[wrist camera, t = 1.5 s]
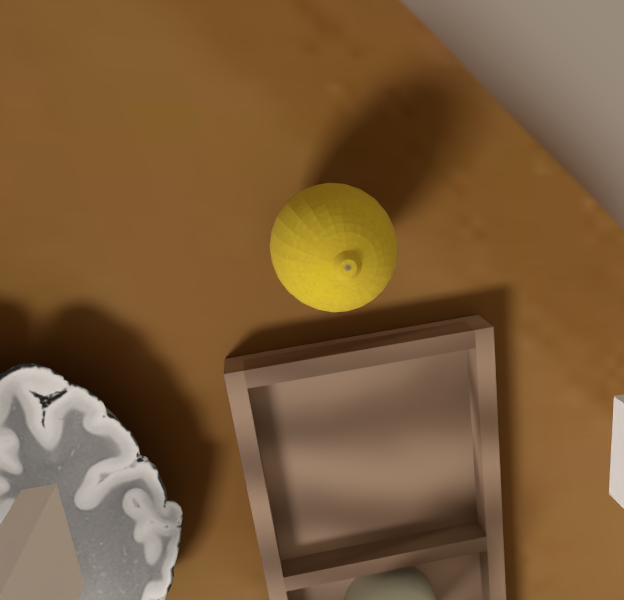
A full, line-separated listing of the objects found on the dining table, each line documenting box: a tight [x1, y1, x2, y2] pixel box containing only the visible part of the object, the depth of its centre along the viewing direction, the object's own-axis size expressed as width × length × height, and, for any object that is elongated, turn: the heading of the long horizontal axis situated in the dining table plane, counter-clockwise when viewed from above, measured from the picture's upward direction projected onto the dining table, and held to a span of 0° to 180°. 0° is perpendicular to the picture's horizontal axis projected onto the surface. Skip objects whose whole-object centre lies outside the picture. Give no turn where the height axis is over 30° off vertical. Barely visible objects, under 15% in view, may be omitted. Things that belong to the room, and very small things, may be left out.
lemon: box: [270, 183, 397, 312], centre depth 26 cm, size 6×6×8 cm
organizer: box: [224, 315, 506, 600], centre depth 34 cm, size 22×14×2 cm, turn 8°
